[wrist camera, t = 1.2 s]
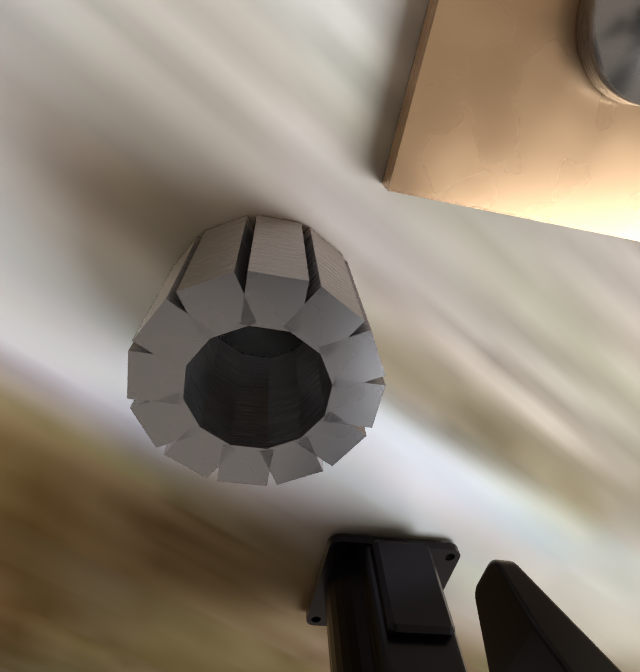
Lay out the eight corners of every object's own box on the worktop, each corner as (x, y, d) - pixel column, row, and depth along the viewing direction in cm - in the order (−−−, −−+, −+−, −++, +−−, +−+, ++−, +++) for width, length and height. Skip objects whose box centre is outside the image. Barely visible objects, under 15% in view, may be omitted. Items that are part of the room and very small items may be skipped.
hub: (334, 397, 19) (350, 493, 15) (162, 375, 18) (125, 471, 14) (377, 236, 16) (413, 298, 12) (174, 199, 15) (131, 251, 11)
